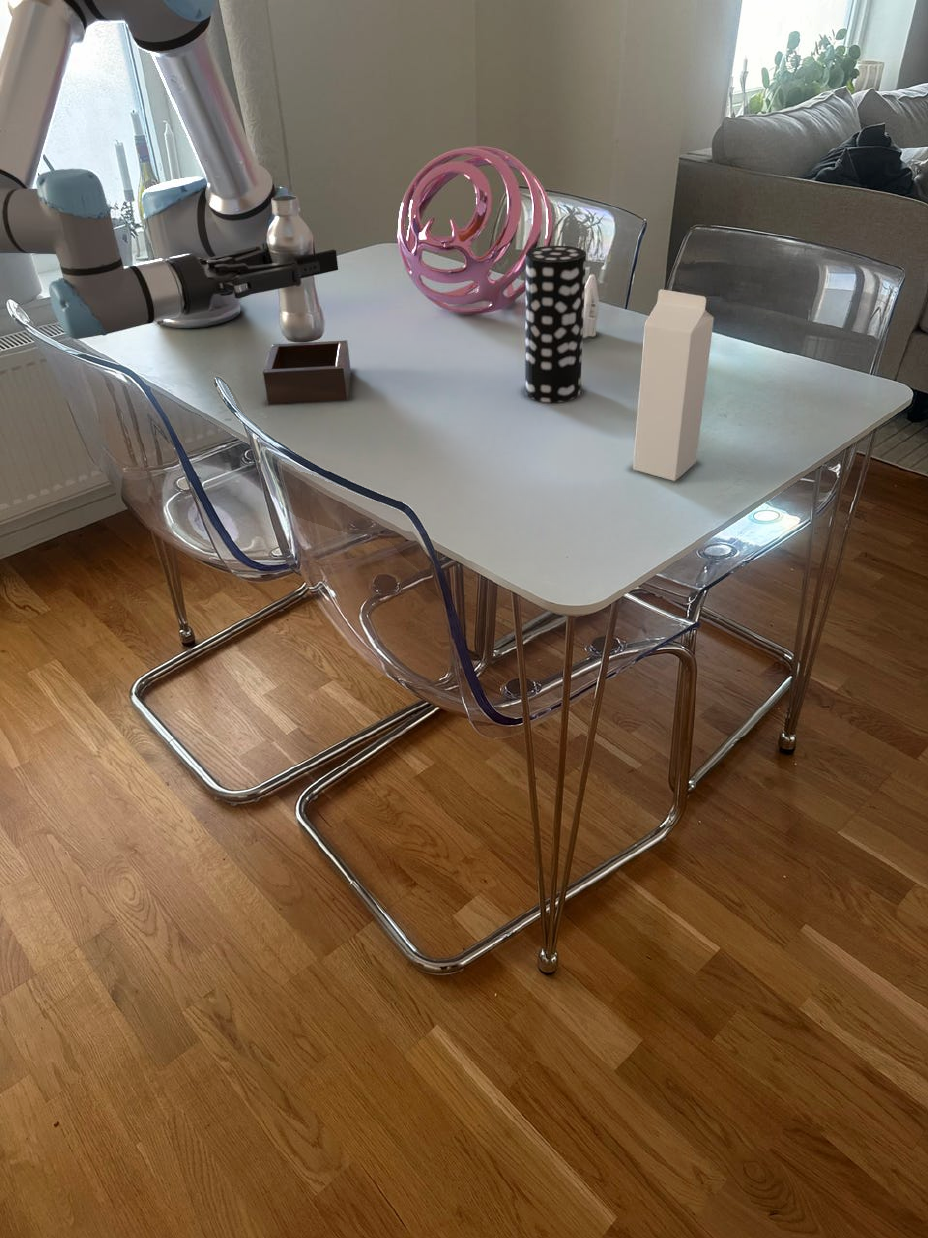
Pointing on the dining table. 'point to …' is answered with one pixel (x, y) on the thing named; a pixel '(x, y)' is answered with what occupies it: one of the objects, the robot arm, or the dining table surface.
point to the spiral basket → (470, 230)
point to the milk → (672, 384)
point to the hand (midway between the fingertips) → (324, 254)
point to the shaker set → (590, 307)
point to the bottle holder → (307, 372)
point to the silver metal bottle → (301, 302)
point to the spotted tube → (554, 322)
